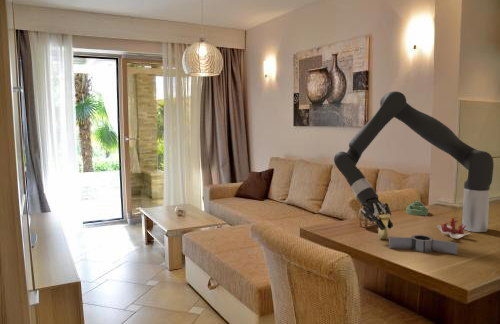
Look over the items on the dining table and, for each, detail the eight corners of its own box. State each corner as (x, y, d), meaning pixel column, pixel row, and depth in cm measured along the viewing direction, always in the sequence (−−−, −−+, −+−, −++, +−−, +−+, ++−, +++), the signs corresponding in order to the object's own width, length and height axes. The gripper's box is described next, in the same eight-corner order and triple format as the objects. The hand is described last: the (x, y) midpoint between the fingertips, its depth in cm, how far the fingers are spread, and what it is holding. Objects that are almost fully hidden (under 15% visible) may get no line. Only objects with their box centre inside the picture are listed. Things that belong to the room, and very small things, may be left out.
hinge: (395, 241, 151) (395, 231, 150) (458, 251, 139) (459, 240, 138) (388, 248, 143) (388, 237, 143) (454, 259, 131) (454, 247, 130)
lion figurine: (368, 230, 167) (369, 209, 166) (356, 228, 169) (356, 208, 168) (374, 222, 180) (375, 202, 179) (363, 220, 182) (363, 201, 181)
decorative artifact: (415, 216, 189) (432, 215, 192) (415, 202, 189) (433, 200, 191) (401, 211, 199) (418, 210, 202) (402, 198, 198) (419, 197, 201)
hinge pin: (378, 234, 157) (379, 212, 156) (391, 236, 155) (391, 213, 154) (375, 237, 153) (375, 214, 152) (387, 239, 151) (388, 216, 150)
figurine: (463, 244, 147) (464, 226, 146) (430, 238, 155) (431, 221, 154) (474, 235, 158) (475, 219, 157) (443, 230, 166) (443, 214, 165)
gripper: (356, 188, 155) (380, 225, 146) (381, 185, 162) (405, 220, 153) (346, 199, 160) (369, 236, 151) (371, 195, 167) (394, 230, 158)
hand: (387, 228), depth 152 cm, fingers closed on hinge pin, 3 cm apart
